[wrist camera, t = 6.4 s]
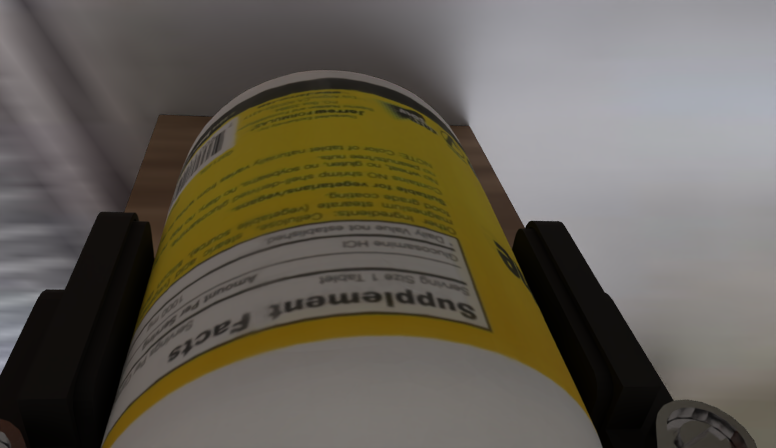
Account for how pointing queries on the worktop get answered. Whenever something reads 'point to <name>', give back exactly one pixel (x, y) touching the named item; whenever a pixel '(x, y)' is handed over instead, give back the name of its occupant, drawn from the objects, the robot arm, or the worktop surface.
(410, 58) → the worktop surface
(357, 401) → the pill bottle
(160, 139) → the box
